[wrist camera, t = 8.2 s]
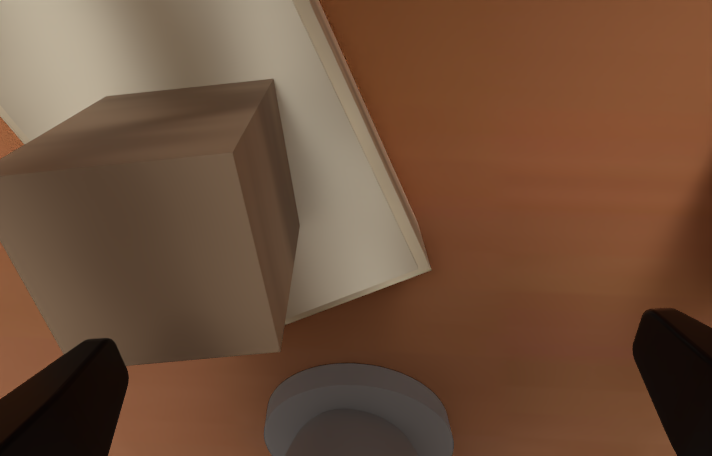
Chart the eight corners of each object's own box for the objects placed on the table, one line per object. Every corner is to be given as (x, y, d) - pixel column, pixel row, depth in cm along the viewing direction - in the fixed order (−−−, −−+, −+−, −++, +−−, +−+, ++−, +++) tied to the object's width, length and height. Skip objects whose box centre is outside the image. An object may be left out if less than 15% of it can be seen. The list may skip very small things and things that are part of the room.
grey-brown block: (273, 78, 14) (232, 152, 9) (300, 225, 16) (280, 351, 11) (105, 96, 14) (-35, 179, 9) (157, 239, 16) (72, 370, 11)
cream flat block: (257, -140, 15) (229, -171, 11) (416, 218, 21) (432, 273, 17) (8, 7, 16) (-87, 22, 13) (225, 295, 23) (203, 358, 19)
